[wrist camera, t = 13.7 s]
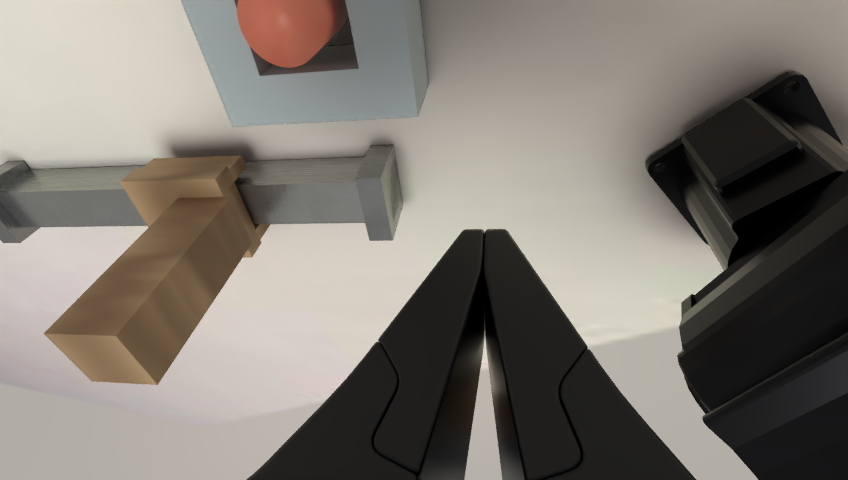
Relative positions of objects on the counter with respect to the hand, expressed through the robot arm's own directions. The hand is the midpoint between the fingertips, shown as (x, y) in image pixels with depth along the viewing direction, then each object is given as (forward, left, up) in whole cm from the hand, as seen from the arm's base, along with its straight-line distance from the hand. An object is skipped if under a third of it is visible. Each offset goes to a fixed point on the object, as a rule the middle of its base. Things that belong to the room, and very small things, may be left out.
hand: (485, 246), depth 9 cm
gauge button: (+7, +4, -12) cm, 14 cm away
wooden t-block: (+5, +15, -12) cm, 20 cm away
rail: (+6, +17, -13) cm, 22 cm away
